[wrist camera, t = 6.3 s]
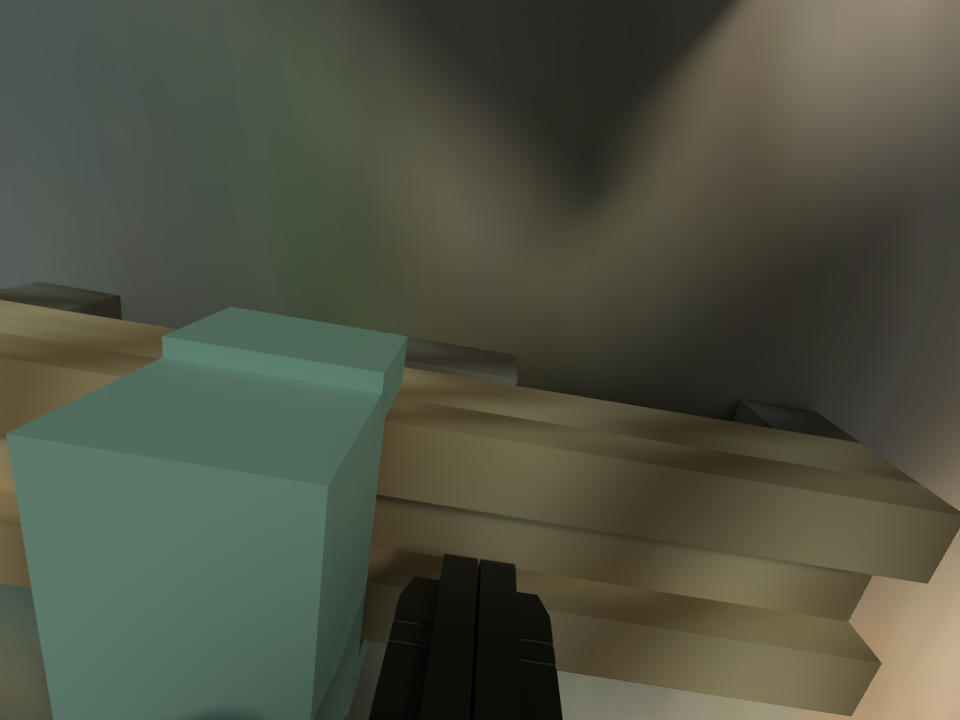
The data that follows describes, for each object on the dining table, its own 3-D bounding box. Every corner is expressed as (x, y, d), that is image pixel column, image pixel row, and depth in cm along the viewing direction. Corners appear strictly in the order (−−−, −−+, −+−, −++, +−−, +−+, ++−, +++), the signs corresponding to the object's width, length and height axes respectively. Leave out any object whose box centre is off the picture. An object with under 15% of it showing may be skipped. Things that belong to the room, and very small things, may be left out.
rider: (407, 336, 11) (330, 458, 6) (372, 631, 14) (298, 884, 9) (230, 306, 11) (0, 404, 6) (231, 609, 14) (75, 851, 9)
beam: (819, 406, 15) (1028, 547, 9) (748, 571, 17) (883, 775, 11) (38, 275, 15) (-280, 332, 9) (62, 461, 17) (-183, 610, 11)
